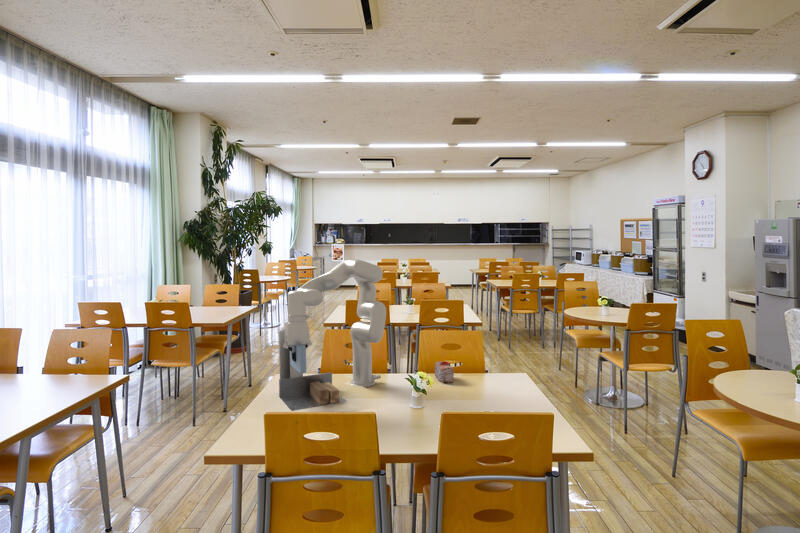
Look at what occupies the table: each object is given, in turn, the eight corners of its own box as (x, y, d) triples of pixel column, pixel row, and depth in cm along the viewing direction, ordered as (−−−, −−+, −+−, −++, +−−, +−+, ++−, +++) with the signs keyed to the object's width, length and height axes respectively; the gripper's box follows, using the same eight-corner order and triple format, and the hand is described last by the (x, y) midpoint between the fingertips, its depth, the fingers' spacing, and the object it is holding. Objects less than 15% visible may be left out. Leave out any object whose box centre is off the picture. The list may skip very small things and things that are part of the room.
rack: (331, 390, 229) (331, 372, 228) (347, 403, 210) (347, 383, 210) (279, 398, 217) (278, 379, 217) (291, 413, 198) (291, 391, 198)
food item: (455, 383, 240) (455, 364, 240) (440, 384, 238) (440, 365, 238) (446, 376, 254) (446, 357, 253) (432, 377, 252) (432, 358, 251)
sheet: (296, 364, 216) (295, 340, 215) (306, 372, 202) (305, 346, 201) (290, 364, 215) (290, 340, 214) (300, 373, 201) (300, 347, 200)
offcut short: (328, 392, 223) (328, 382, 222) (339, 401, 210) (339, 390, 210) (320, 393, 221) (320, 383, 221) (330, 402, 208) (330, 391, 208)
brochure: (291, 395, 222) (289, 331, 221) (280, 394, 223) (278, 331, 222) (303, 386, 236) (302, 326, 235) (292, 385, 237) (291, 326, 236)
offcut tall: (318, 394, 220) (318, 381, 220) (328, 403, 208) (328, 389, 208) (310, 395, 218) (310, 382, 218) (319, 404, 206) (319, 390, 206)
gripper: (312, 316, 214) (313, 356, 215) (276, 319, 207) (277, 361, 208) (317, 318, 208) (318, 360, 209) (280, 321, 200) (281, 364, 201)
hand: (298, 360), depth 208 cm, fingers closed on sheet, 2 cm apart
